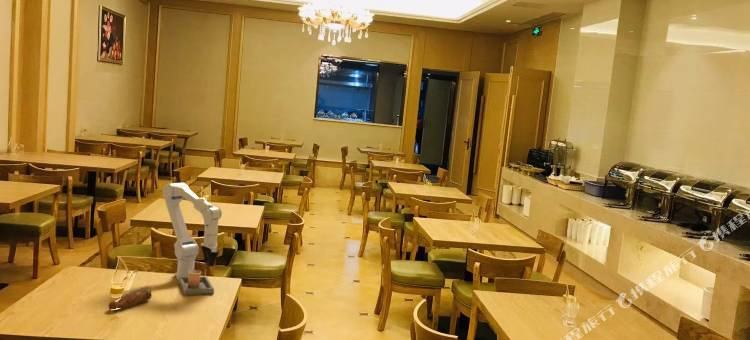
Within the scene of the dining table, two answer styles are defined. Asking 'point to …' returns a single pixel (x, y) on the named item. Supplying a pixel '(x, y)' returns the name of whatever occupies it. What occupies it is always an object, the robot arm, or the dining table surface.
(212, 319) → the dining table surface
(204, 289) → the serving tray
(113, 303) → the bread
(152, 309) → the dining table surface
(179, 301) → the dining table surface
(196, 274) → the cup
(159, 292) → the dining table surface
